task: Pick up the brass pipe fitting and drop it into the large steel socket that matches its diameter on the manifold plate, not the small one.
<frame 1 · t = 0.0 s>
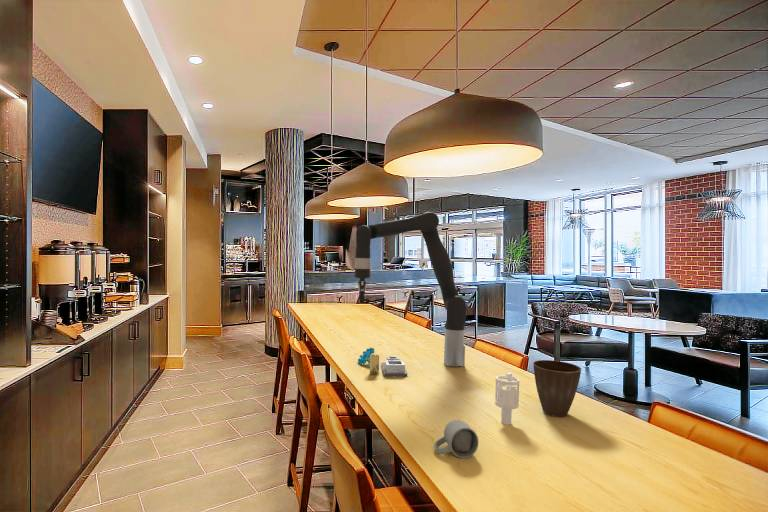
hand: (361, 302, 195), 29 cm above the table, tool pointing down, fingers open, 8 cm apart
gear: (366, 364, 196), on the table
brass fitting: (374, 373, 180), on the table
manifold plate: (393, 370, 186), on the table
white stepped cylinder: (506, 423, 130), on the table
ceramic mug: (454, 452, 109), on the table
plant pot: (555, 413, 139), on the table
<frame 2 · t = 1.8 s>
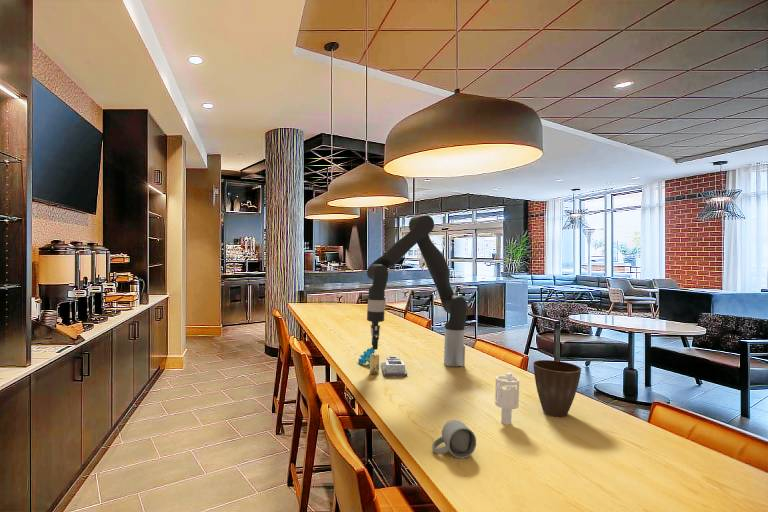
hand: (374, 347, 180), 12 cm above the table, tool pointing down, fingers open, 8 cm apart
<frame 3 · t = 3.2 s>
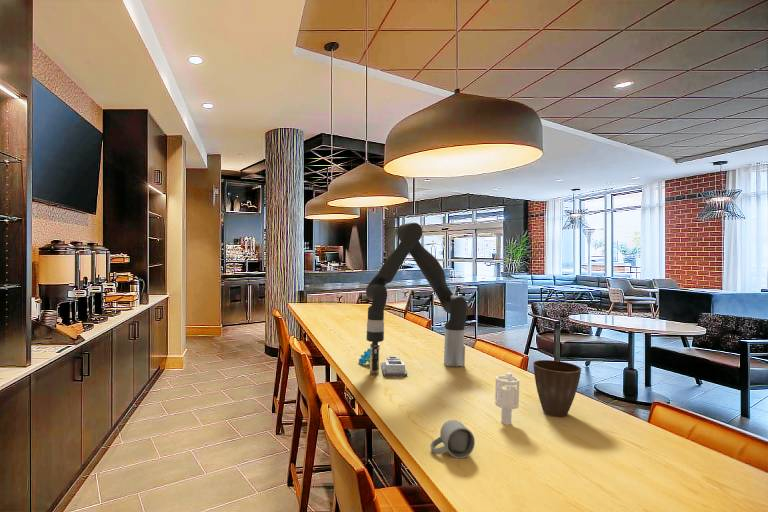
hand: (374, 368, 180), 2 cm above the table, tool pointing down, fingers closed on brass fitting, 4 cm apart
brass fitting: (374, 373, 180), on the table, touching gripper
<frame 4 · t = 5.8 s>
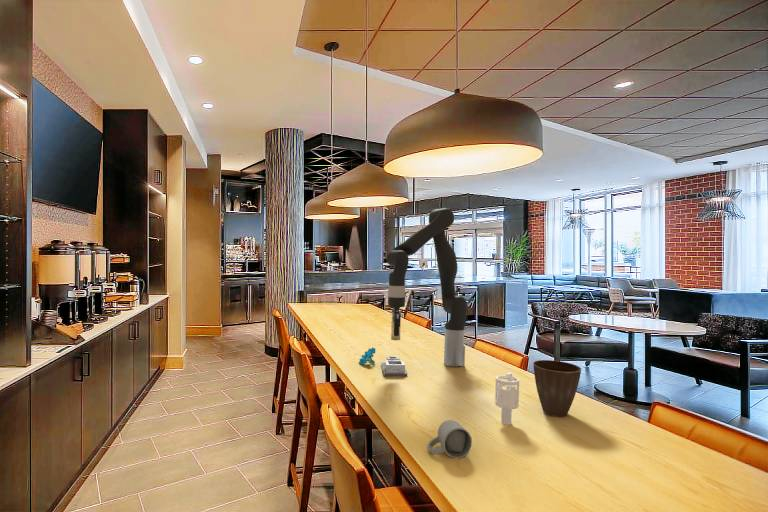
hand: (395, 334, 182), 17 cm above the table, tool pointing down, fingers closed on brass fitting, 4 cm apart
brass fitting: (395, 339, 181), point 15 cm above the table, touching gripper
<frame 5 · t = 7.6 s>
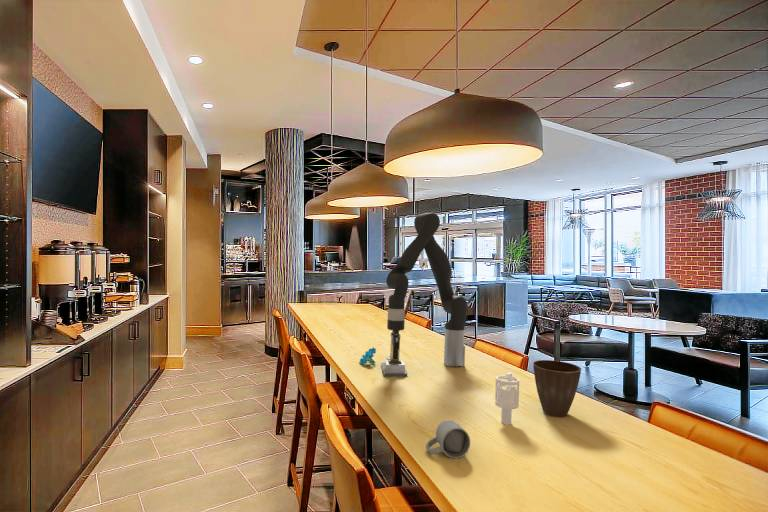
hand: (394, 357, 181), 7 cm above the table, tool pointing down, fingers closed on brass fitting, 4 cm apart
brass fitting: (394, 362, 181), point 5 cm above the table, touching gripper
when the fingers open (6 cm above the table, at t = 8.7 s): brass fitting drops 2 cm, resting on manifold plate.
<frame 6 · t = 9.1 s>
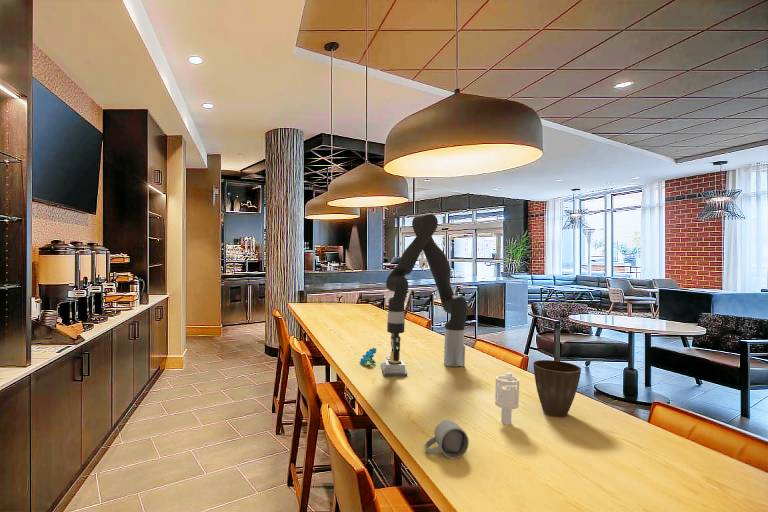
hand: (394, 358, 181), 7 cm above the table, tool pointing down, fingers open, 8 cm apart
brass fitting: (394, 370, 181), point 1 cm above the table, touching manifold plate
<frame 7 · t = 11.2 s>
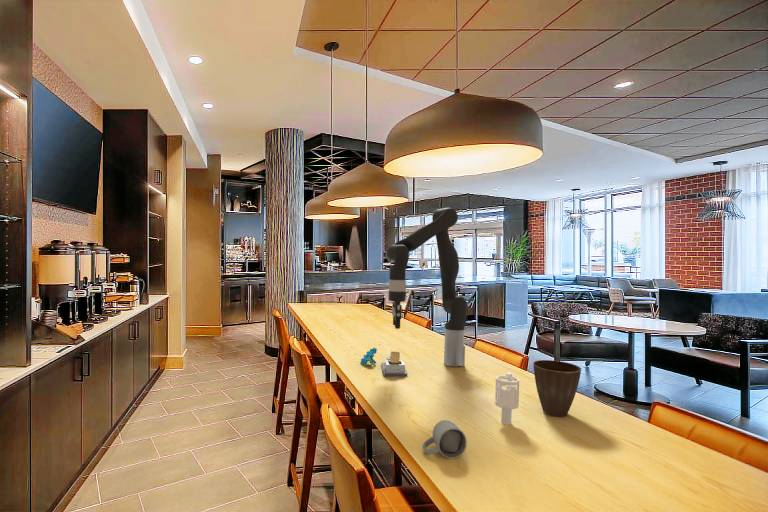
hand: (396, 326, 182), 20 cm above the table, tool pointing down, fingers open, 8 cm apart
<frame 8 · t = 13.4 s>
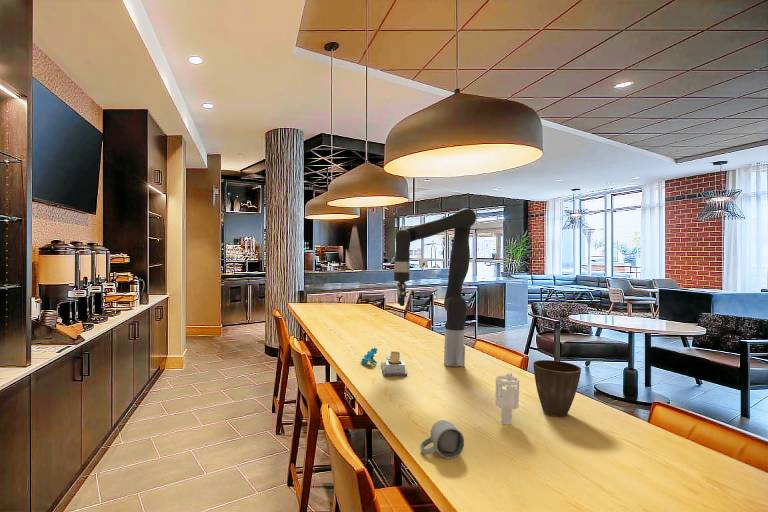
hand: (400, 304, 199), 28 cm above the table, tool pointing down, fingers open, 8 cm apart
at the end: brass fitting 0.0 cm from the target spot on the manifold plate, point 1.2 cm above the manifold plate's base; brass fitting tilted 0°; the gripper is holding nothing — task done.
